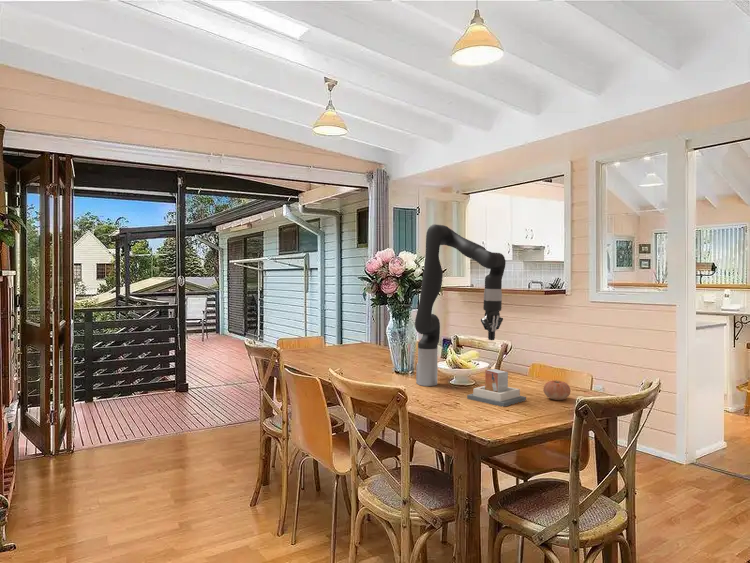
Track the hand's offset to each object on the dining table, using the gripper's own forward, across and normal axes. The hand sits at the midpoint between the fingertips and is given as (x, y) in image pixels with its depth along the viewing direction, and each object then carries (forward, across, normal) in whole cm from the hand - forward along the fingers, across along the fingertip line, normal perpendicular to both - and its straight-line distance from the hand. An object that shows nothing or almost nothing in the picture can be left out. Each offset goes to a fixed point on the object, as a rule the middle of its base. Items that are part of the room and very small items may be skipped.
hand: (491, 340), depth 222 cm
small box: (+23, +2, +5) cm, 24 cm away
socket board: (+24, +2, +5) cm, 25 cm away
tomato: (+24, -18, +21) cm, 36 cm away
